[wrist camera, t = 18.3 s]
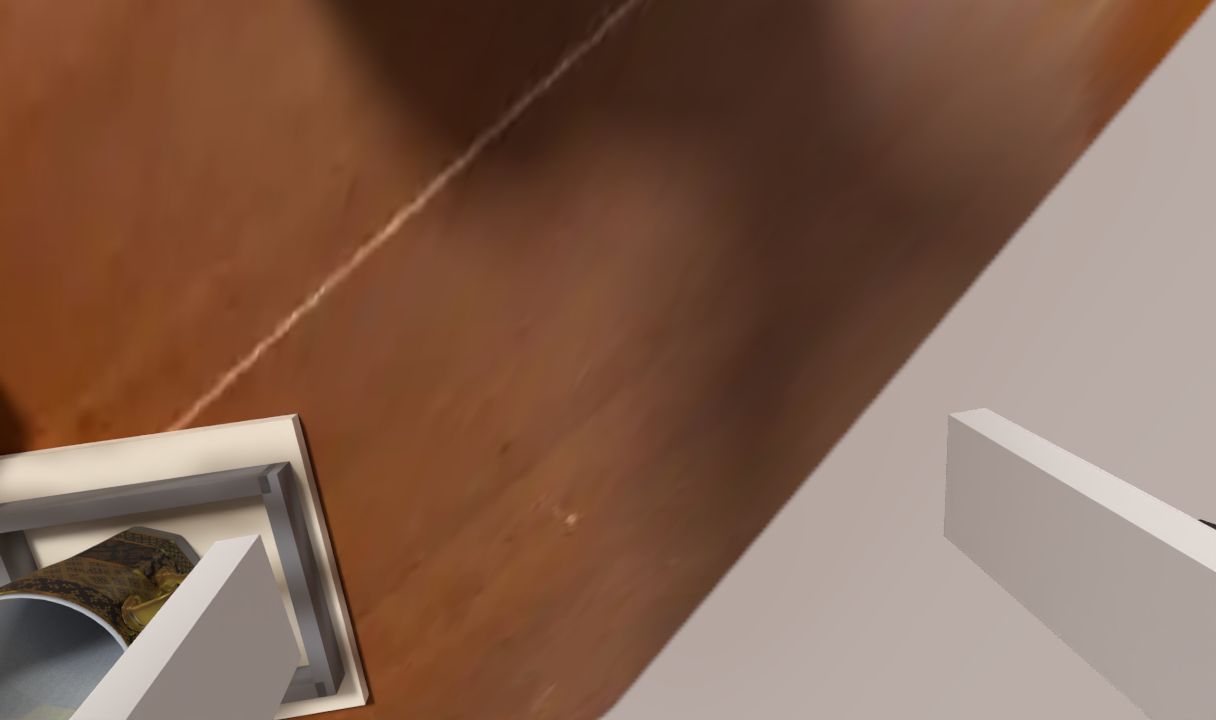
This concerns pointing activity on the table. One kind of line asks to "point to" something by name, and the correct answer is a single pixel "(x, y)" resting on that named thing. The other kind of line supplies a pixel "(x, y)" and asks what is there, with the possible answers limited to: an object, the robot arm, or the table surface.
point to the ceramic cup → (82, 619)
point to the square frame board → (197, 525)
